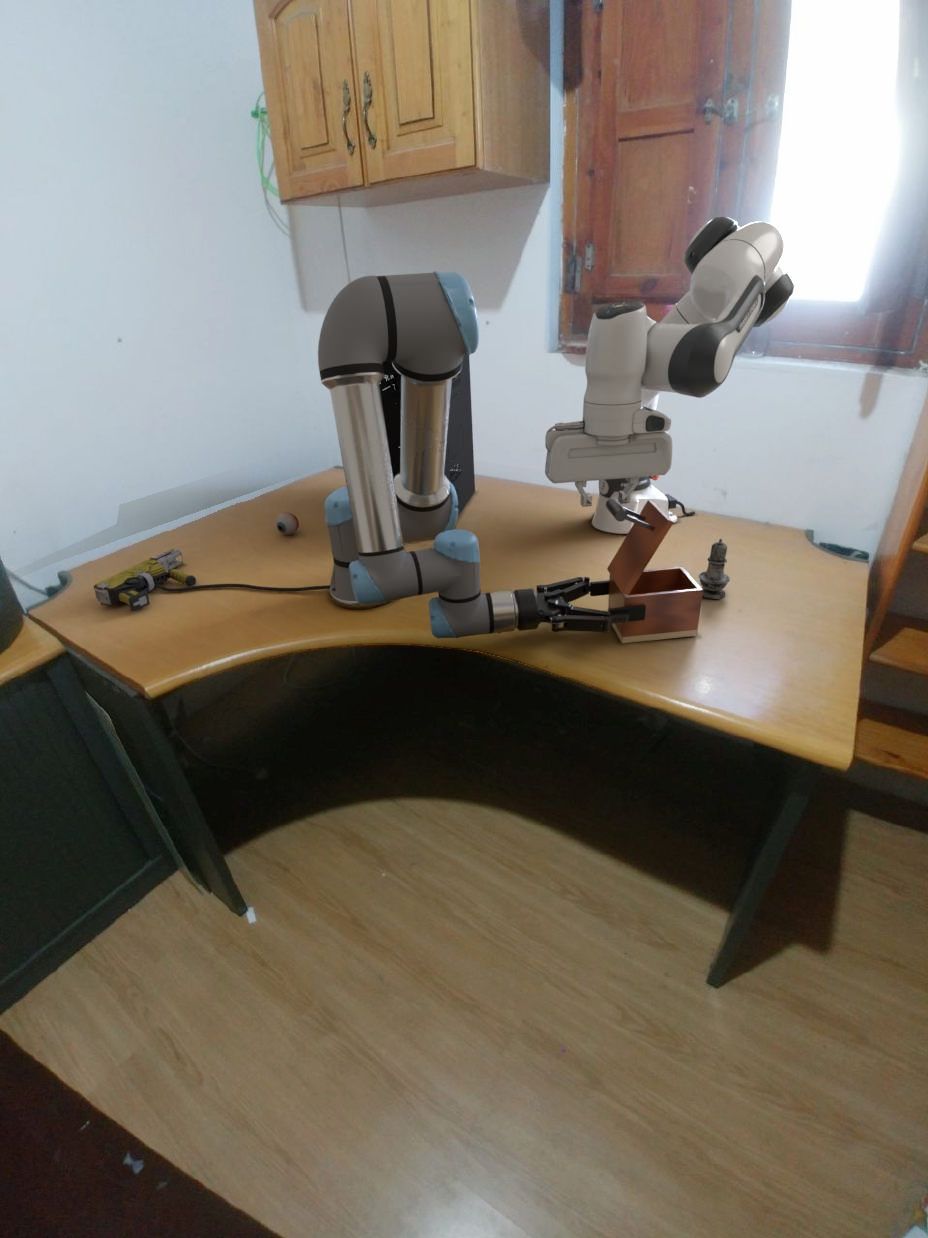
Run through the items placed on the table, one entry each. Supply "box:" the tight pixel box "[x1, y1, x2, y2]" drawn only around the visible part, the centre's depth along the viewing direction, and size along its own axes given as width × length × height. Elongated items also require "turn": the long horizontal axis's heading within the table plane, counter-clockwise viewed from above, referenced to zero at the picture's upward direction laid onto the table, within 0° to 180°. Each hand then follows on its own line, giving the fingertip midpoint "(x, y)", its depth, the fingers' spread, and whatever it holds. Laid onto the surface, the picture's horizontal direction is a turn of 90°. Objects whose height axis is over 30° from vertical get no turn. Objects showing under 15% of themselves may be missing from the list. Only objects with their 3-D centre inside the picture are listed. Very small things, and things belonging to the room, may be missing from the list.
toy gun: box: [93, 548, 197, 612], centre depth 139 cm, size 5×24×15 cm
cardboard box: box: [379, 354, 476, 517], centre depth 164 cm, size 38×20×45 cm, turn 167°
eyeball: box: [275, 511, 300, 536], centre depth 163 cm, size 6×6×6 cm
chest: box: [607, 565, 703, 644], centre depth 112 cm, size 14×10×10 cm
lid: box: [606, 498, 675, 595], centre depth 105 cm, size 14×10×9 cm
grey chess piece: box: [698, 538, 731, 600], centre depth 121 cm, size 6×6×12 cm
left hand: (633, 598), depth 111 cm, fingers closed on chest, 10 cm apart
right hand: (604, 504), depth 101 cm, fingers open, 5 cm apart
